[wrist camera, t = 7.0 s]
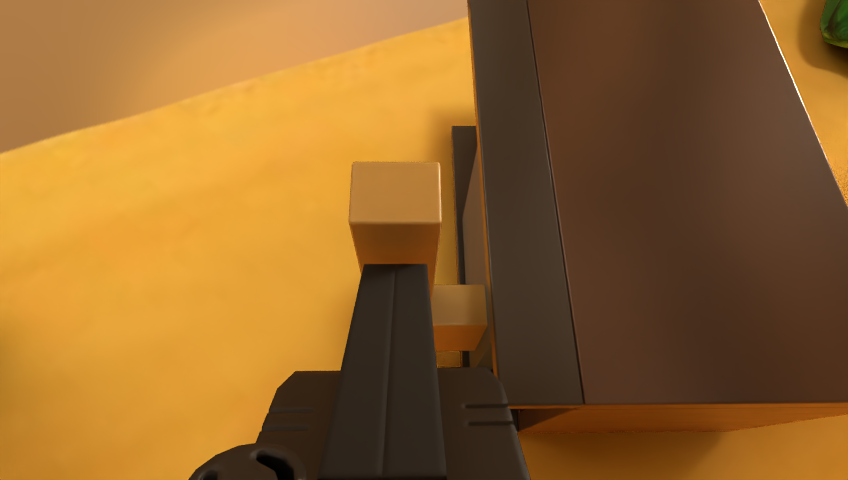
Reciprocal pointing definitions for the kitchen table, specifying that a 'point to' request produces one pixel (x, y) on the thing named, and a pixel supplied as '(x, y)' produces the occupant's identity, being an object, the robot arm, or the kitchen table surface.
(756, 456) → the kitchen table surface
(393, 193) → the sliding door
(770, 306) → the box
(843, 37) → the snack package
